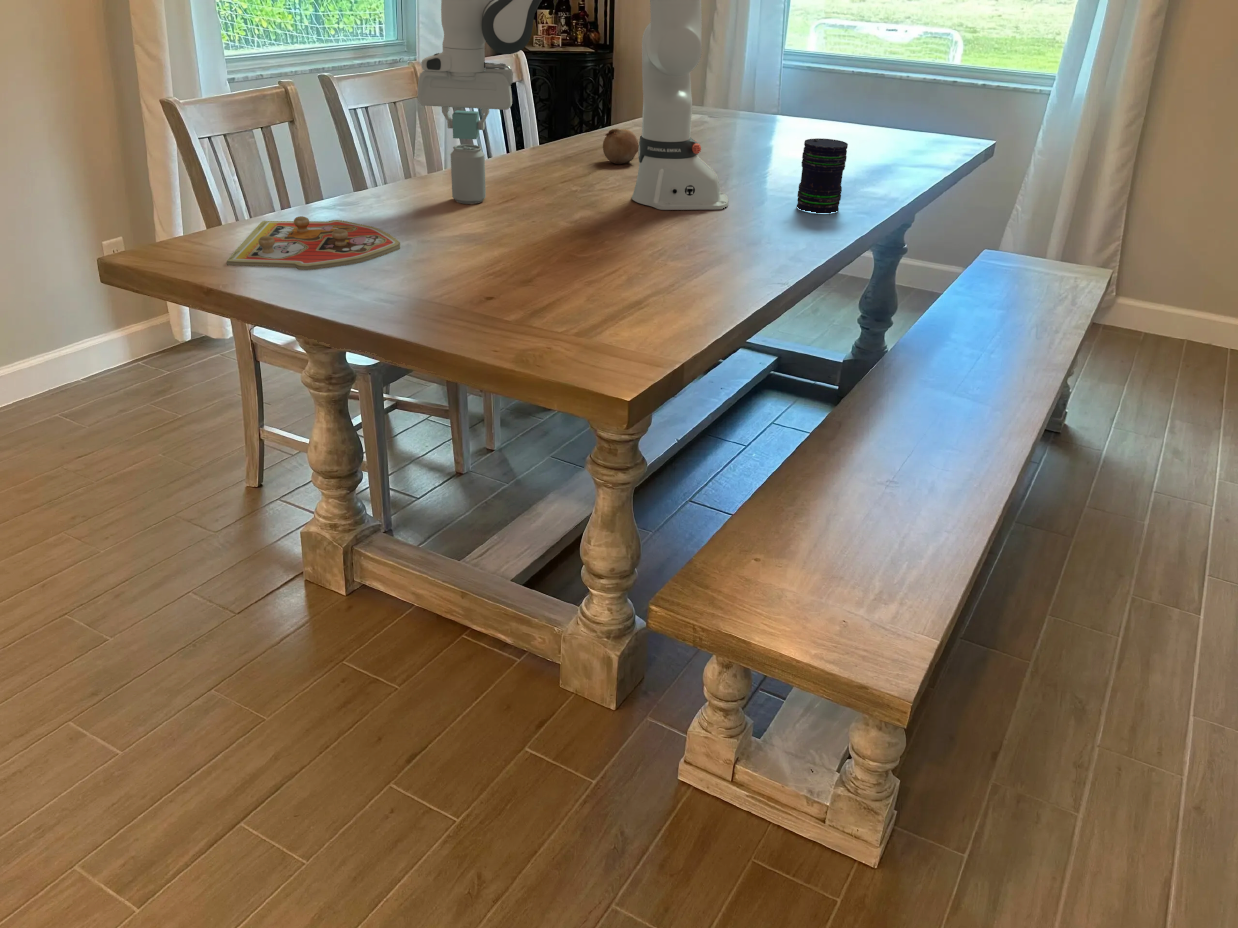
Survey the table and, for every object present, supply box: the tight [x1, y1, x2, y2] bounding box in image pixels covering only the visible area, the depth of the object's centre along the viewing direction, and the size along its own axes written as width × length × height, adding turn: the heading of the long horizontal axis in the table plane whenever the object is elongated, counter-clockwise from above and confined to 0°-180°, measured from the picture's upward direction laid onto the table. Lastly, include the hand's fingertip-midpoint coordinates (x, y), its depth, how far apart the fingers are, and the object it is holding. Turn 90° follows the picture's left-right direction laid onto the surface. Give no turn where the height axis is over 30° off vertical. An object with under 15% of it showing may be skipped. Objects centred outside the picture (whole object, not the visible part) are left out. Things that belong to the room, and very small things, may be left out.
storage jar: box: [796, 137, 849, 213], centre depth 227 cm, size 10×10×15 cm
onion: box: [602, 128, 639, 165], centre depth 264 cm, size 10×9×10 cm
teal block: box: [451, 109, 480, 140], centre depth 218 cm, size 5×5×5 cm
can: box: [449, 143, 487, 205], centre depth 223 cm, size 8×8×12 cm
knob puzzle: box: [226, 215, 401, 271], centre depth 192 cm, size 29×30×4 cm
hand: (466, 128), depth 219 cm, fingers closed on teal block, 5 cm apart
